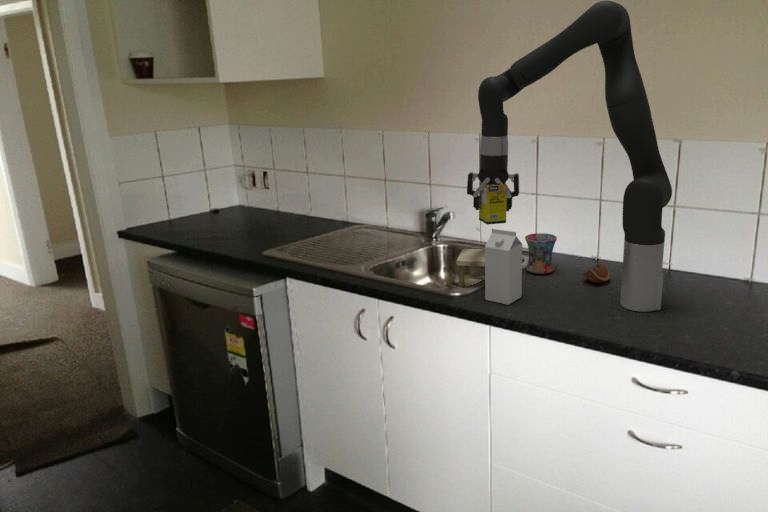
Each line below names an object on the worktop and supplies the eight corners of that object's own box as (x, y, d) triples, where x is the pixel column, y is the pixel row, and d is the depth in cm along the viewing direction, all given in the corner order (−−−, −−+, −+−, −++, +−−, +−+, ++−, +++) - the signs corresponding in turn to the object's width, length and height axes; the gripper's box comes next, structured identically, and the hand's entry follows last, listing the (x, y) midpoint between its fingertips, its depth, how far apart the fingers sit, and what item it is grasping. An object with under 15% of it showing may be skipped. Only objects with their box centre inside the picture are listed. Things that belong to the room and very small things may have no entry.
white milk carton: (498, 292, 178) (498, 225, 172) (521, 297, 173) (522, 229, 168) (485, 300, 172) (484, 231, 167) (508, 305, 168) (509, 235, 162)
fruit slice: (598, 288, 177) (599, 271, 175) (577, 283, 182) (577, 266, 180) (614, 281, 182) (615, 264, 181) (593, 276, 187) (593, 259, 186)
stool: (503, 275, 191) (503, 249, 188) (499, 289, 180) (499, 262, 177) (463, 274, 194) (462, 248, 192) (456, 287, 183) (456, 260, 181)
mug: (545, 278, 187) (546, 243, 184) (518, 272, 194) (518, 238, 190) (566, 268, 195) (568, 234, 192) (540, 262, 201) (541, 229, 198)
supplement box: (506, 223, 179) (508, 184, 176) (486, 225, 178) (487, 186, 174) (498, 218, 184) (499, 180, 181) (478, 219, 183) (479, 182, 180)
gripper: (521, 150, 177) (519, 208, 182) (470, 149, 181) (469, 206, 186) (519, 154, 170) (517, 214, 175) (465, 153, 174) (464, 212, 179)
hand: (492, 210), depth 180 cm, fingers closed on supplement box, 8 cm apart
